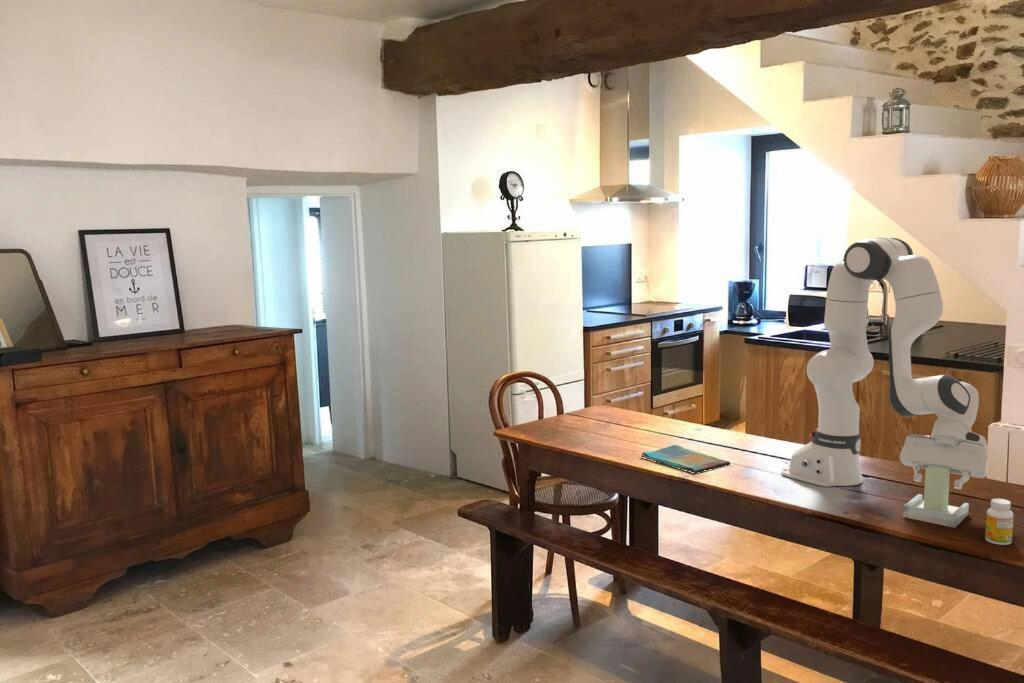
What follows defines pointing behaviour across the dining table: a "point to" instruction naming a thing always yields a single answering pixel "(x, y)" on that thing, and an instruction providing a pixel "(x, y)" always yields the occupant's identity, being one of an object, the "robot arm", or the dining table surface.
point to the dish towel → (685, 459)
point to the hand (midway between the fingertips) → (936, 484)
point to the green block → (936, 488)
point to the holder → (935, 513)
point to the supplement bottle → (999, 522)
